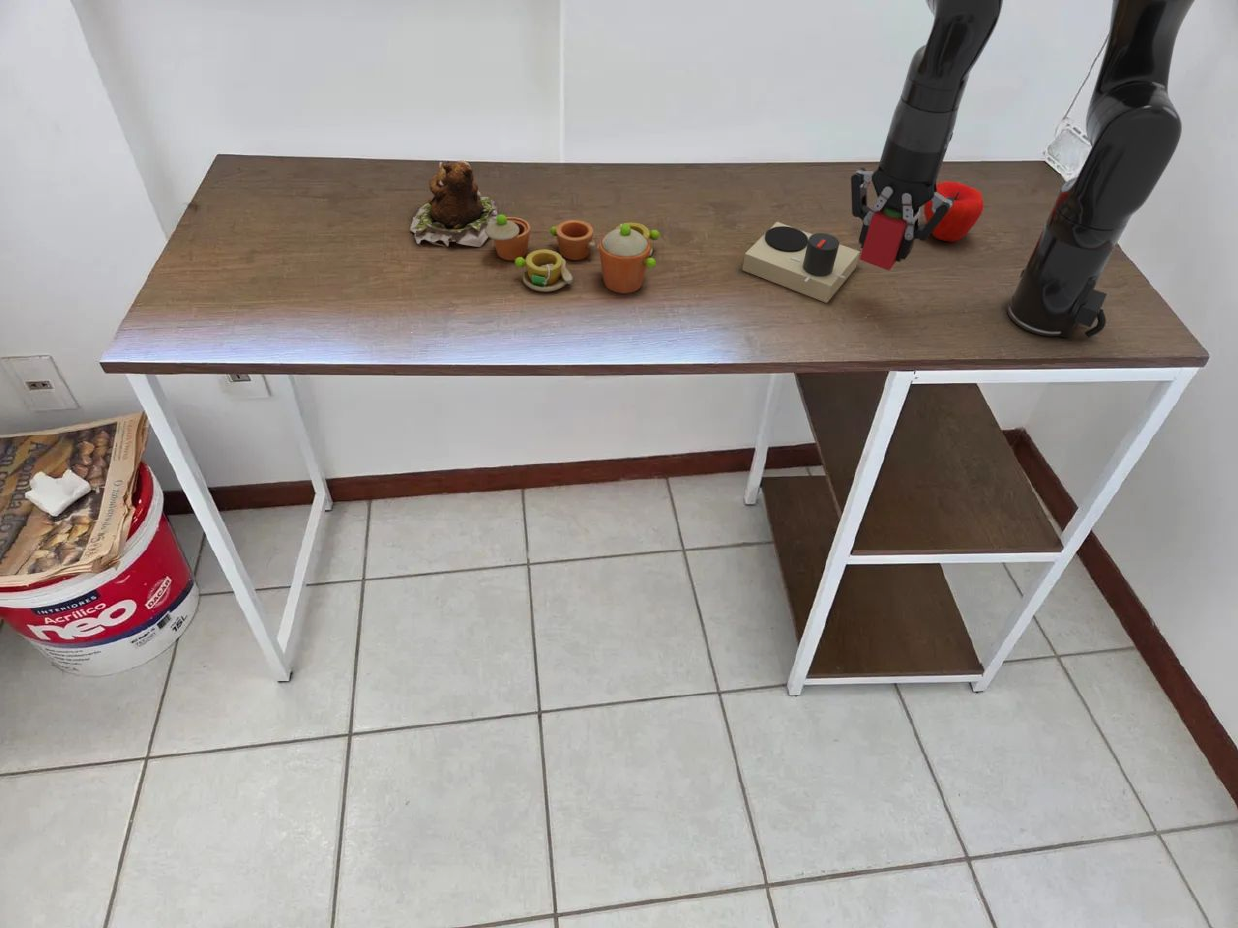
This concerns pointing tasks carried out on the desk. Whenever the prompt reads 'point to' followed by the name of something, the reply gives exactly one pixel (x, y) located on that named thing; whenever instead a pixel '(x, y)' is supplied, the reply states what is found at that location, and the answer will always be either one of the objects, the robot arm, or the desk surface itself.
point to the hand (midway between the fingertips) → (882, 252)
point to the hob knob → (820, 254)
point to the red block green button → (883, 238)
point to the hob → (798, 268)
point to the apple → (956, 211)
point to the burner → (786, 239)
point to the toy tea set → (576, 252)
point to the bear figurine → (454, 208)
